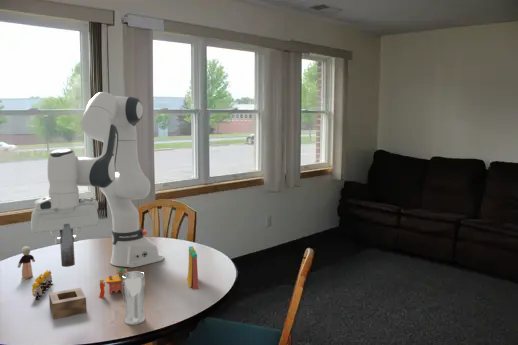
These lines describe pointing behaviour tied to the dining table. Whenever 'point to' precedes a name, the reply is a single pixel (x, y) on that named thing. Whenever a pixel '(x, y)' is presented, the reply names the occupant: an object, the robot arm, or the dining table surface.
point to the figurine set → (41, 284)
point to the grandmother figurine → (26, 263)
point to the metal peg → (67, 246)
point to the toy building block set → (116, 281)
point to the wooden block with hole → (67, 303)
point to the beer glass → (134, 296)
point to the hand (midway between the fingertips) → (66, 242)
